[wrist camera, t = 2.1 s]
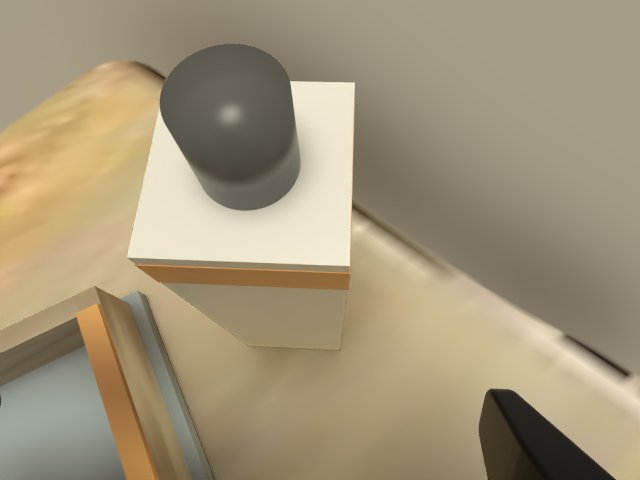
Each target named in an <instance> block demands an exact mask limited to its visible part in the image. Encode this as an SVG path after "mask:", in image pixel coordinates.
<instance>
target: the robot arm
mask: <svg viewBox="0 0 640 480" xmlns="http://www.w3.org/2000/svg"><path fill="white" fill-rule="evenodd" d="M0 406H1V395H0ZM479 437H480V442H481V447H482V452H483V457H484V462H485V467H486V472H487V477H488V480H616V479H615V478H613V477H612V476H611V475H610V474H609V473H608V472H607V471H605V470H604V469H603V468H602V467H601V466H600V465H599V464H597V463H596V462H595V461H594V460H593V459H592V458H590V457H589V456H588V455H587V454H586V453H585V452H584V451H582V450H581V449H580V448H579V447H578V446H577V445H576V444H574V443H573V442H572V441H571V440H570V439H569V438H567V437H566V436H565V435H564V434H563V433H562V432H561V431H559V430H558V429H557V428H556V427H555V426H554V425H553V424H551V423H550V422H549V421H548V420H547V419H546V418H545V417H543V416H542V415H541V414H540V413H539V412H538V411H536V410H535V409H534V408H533V407H532V406H531V405H530V404H528V403H527V402H526V401H525V400H524V399H523V398H522V397H520V396H519V395H518V394H517V393H516V392H514V391H512V390H509V389H489V390H488V391H487V392H486V395H485V399H484V403H483V408H482V412H481V417H480V421H479Z"/></svg>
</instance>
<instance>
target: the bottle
mask: <svg viewBox="0 0 640 480" xmlns="http://www.w3.org/2000/svg"><path fill="white" fill-rule="evenodd" d="M354 85H355V83H339V82H291V81H290V80H289V77H288V75H287V73H286V71H285V69H284V68H283V67H282V65H281V64H280V63H279V62H278V61H277V60H276V59H275V58H274V57H272V56H271V55H270V54H268V53H266V52H264V51H262V50H260V49H257V48H255V47H251V46H247V45H240V44H224V45H217V46H213V47H209V48H206V49H203V50H201V51H198V52H196V53H194V54H192V55H191V56H189V57H187V58H186V59H184V60H183V61H182V62H181V63H179V64H178V65H177V66H176V67H175V68H174V69H173V71H172V72H171V73H170V75H169V76H168V78H167V79H166V80H165V83H164V85H163V88H162V91H161V95H160V108H159V112H158V117H157V122H156V126H155V131H154V135H153V140H152V145H151V149H150V154H149V159H148V163H147V168H146V172H145V177H144V182H143V186H142V191H141V195H140V200H139V205H138V209H137V214H136V218H135V223H134V228H133V232H132V237H131V242H130V246H129V251H128V255H127V258H128V259H130V260H131V261H132V262H134V263H135V266H137V267H138V268H139V269H141V270H142V271H144V272H145V273H146V274H148V275H149V276H151V277H152V278H153V279H155V280H156V281H157V282H161V283H163V284H164V285H165V286H167V287H168V288H169V289H171V290H172V291H173V292H175V293H176V294H178V295H179V296H180V297H182V298H183V299H184V300H186V301H187V302H189V303H190V304H191V305H193V306H194V307H195V308H197V309H198V310H200V311H201V312H202V313H204V314H205V315H206V316H208V317H209V318H210V319H212V320H213V321H215V322H216V323H217V324H219V325H220V326H221V327H223V328H224V329H226V330H227V331H228V332H230V333H231V334H232V335H234V336H235V337H236V338H238V339H239V340H241V341H242V342H243V343H245V344H246V345H247V346H261V347H282V348H304V349H325V350H340V346H341V337H342V329H343V320H344V312H345V303H346V295H347V290H348V287H349V279H350V259H351V220H352V179H353V141H354V104H355V103H354V102H355V95H354V87H355V86H354Z"/></svg>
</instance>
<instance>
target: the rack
mask: <svg viewBox="0 0 640 480" xmlns="http://www.w3.org/2000/svg"><path fill="white" fill-rule="evenodd" d="M0 395H1V406H0V480H214V478H213V475H212V473H211V470H210V467H209V465H208V462H207V459H206V457H205V454H204V451H203V449H202V446H201V443H200V441H199V438H198V435H197V433H196V430H195V427H194V425H193V422H192V419H191V417H190V414H189V411H188V409H187V406H186V403H185V401H184V398H183V395H182V393H181V390H180V387H179V385H178V382H177V379H176V377H175V374H174V371H173V368H172V366H171V363H170V360H169V358H168V355H167V352H166V350H165V347H164V344H163V342H162V339H161V336H160V334H159V331H158V328H157V326H156V323H155V320H154V318H153V315H152V312H151V310H150V307H149V304H148V302H147V299H146V296H145V295H144V294H142V293H140V292H139V291H137V292H135V293H133V294H130V295H128V296H126V297H124V298H122V299H119V298H117V297H115V296H113V295H111V294H109V293H107V292H105V291H103V290H101V289H99V288H97V287H95V286H94V287H92V288H90V289H88V290H86V291H84V292H82V293H79V294H77V295H75V296H73V297H71V298H69V299H67V300H64V301H62V302H60V303H58V304H56V305H54V306H52V307H50V308H47V309H45V310H43V311H41V312H39V313H37V314H35V315H32V316H30V317H28V318H26V319H24V320H22V321H20V322H18V323H15V324H13V325H11V326H9V327H7V328H5V329H3V330H0Z"/></svg>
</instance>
